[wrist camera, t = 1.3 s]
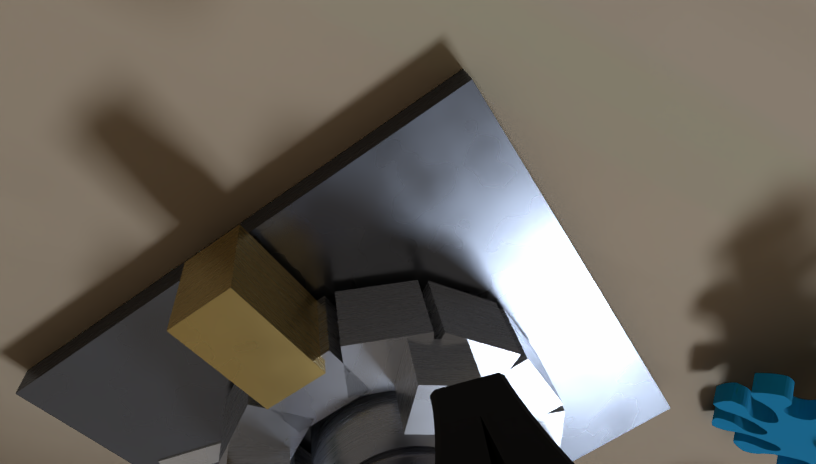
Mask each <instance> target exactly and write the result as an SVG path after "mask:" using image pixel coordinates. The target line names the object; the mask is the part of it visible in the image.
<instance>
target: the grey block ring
mask: <svg viewBox="0 0 816 464" xmlns="http://www.w3.org/2000/svg"><path fill="white" fill-rule="evenodd" d="M335 298H336V306H335V305H334V304H333V303H332V302H331V301H330V300H329V299H328V298H327V297H326V296H323V297H322V298H320V299H319V300H316V299H315V298H314V297H313V296H312V295H311V294H310V293H309V292H308V291H307V290H306V289H305V288H304V287H303V286H302V285H301V284H300V283H299V282H298V281H297V280H296V279H295V278H294V277H293V276H292V275H291V274H290V273H289V272H288V271H287V270H286V269H285V268H284V267H283V266H282V265H280V264H279V263H278V262H277V261H276V260H275V259H274V258H273V257H272V256H271V255H270V254H269V253H268V252H267V251H266V250H265V249H264V248H263V247H262V246H261V245H260V244H259V243H258V242H257V241H256V240H255V239H254V238H253V237H252V236H251V235H250V234H249V233H248V232H247V231H246V230H245V229H244V228H243V227H242V226H241V225H240V224H239V225H238V226H236V227H235V228H234V229H232V230H231V231H229V232H228V233H226V234H225V235H223V236H222V237H221V238H219V239H218V240H216V241H215V242H213V243H212V244H210V245H209V246H208V247H206V248H205V249H203V250H202V251H200V252H199V253H197V254H196V255H195V256H193V257H192V258H190V259H189V260H187V261H186V262H185V264H184V268H183V271H182V275H181V279H180V283H179V286H178V290H177V294H176V298H175V301H174V305H173V309H172V313H171V316H170V320H169V324H168V327H167V332H169V333H170V334H171V335H172V336H174V337H175V338H176V339H178V340H179V341H180V342H181V343H183V344H184V345H185V346H186V347H188V348H189V349H190V350H192V351H193V352H194V353H195V354H197V355H198V356H199V357H201V358H202V359H203V360H204V361H206V362H207V363H208V364H210V365H211V366H212V367H213V368H215V369H216V370H217V371H219V372H220V373H221V374H222V375H224V376H225V377H226V378H227V379H229V380H230V381H231V382H233V383H234V385H233V387H232V389H231V392H230V394H229V396H228V398H227V400H226V405H225V413H224V421H223V429H222V438H221V446H220V454H219V462H218V464H312V455H311V454H310V453H309V452H307V451H306V450H305V449H303V448H302V447H301V446H299V444H300V442H301V441H302V439H303V437H304V435H305V434H306V432H307V430H308V428H309V427H310V426H312V425H313V424H315V423H317V422H318V421H320V420H321V419H323V418H325V417H326V416H328V415H330V414H331V413H333V412H335V411H336V410H338V409H340V408H341V407H343V406H345V405H346V404H348V403H350V402H351V401H353V400H354V399H356V398H358V397H359V396H362V395H368V394H374V393H380V392H386V391H392V390H395V392H396V397H397V402H398V407H399V412H400V417H401V422H402V427H403V432H404V434H423V435H435V431H434V419H433V410H432V404H431V400H430V395H431V393H432V392H433V391H434V390H435V389H439V388H443V387H446V386H450V385H454V384H457V383H461V382H465V381H469V380H472V379H476V378H480V377H484V376H487V375H491V374H495V373H501V374H503V375H505V376H506V378H507V379H508V381H509V383H510V384H511V386H512V387H513V389H514V390H515V391H516V393H517V394H518V396H519V397H520V399H521V400H522V401H523V403H524V404H525V405H526V407H527V408H528V409H529V411H530V412H531V413H532V415H533V416H534V417H535V418H536V420H537V421H538V422H539V423H540V424H541V426H542V427H543V428H544V429H545V431H546V432H547V433H548V434H549V435H550V437H551V438H552V439H553V440H554V441H555V442H556V444H557V445H558V446H559V447H560V446H561V438H562V430H563V422H564V414H565V410H564V408H563V406H562V405H563V403H562V401H561V399H560V397H559V395H558V393H557V391H556V389H555V387H554V385H553V383H552V381H551V379H550V377H549V376H548V374H547V372H546V370H545V368H544V366H543V364H542V362H541V360H540V358H539V356H538V354H537V352H536V350H535V349H534V348H533V346H532V345H531V344H530V342H529V341H528V340H527V339H526V337H525V336H524V335H523V333H522V332H521V331H520V329H519V328H518V327H517V325H516V324H515V323H514V321H513V320H512V319H511V317H510V316H509V315H508V313H507V312H506V311H505V309H504V308H503V307H502V308H501V309H499V308H498V306H497V304H496V302H493V301H490V300H487V299H483V298H480V297H477V296H474V295H471V294H468V293H465V292H462V291H459V290H456V289H452V288H449V287H446V286H443V285H440V284H437V283H434V282H431V281H427V283H426V285H425V286H424V288H423V290H422V291H421V289H420V286H419V282H418V280H413V281H406V282H399V283H392V284H385V285H378V286H371V287H364V288H357V289H350V290H343V291H336V292H335Z"/></svg>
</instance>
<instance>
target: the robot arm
mask: <svg viewBox="0 0 816 464" xmlns="http://www.w3.org/2000/svg"><path fill="white" fill-rule="evenodd" d="M430 400H431V404H432V410H433V419H434V431H435V464H574V463H573V461H572V460H571V459H570V458H569V457H568V456H567V455H566V454H565V453H564V451H563V450H562V449H561V448H560V447H559V446H558V445H557V444H556V442H555V441H554V440H553V439H552V438H551V437H550V435H549V434H548V433H547V432H546V431H545V429H544V428H543V427H542V426H541V424H540V423H539V422H538V421H537V420H536V418H535V417H534V416H533V415H532V413H531V412H530V411H529V409H528V408H527V407H526V405H525V404H524V403H523V401H522V400H521V399H520V397H519V396H518V394H517V393H516V391H515V390H514V389H513V387H512V386H511V384H510V383H509V381H508V379H507V378H506V376H505V375H503V374H501V373H495V374H491V375H487V376H484V377H480V378H476V379H472V380H469V381H465V382H461V383H457V384H454V385H450V386H446V387H443V388H439V389H435V390H434V391H433V392H432V393H431V395H430Z"/></svg>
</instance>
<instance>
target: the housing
mask: <svg viewBox="0 0 816 464" xmlns="http://www.w3.org/2000/svg"><path fill="white" fill-rule="evenodd" d="M311 453H312V464H435V435H423V434H404V432H403V427H402V422H401V417H400V412H399V407H398V402H397V397H396V392H395V390H392V391H386V392H380V393H374V394H368V395H362V396H359V397H358V398H356V399H354V400H353V401H351V402H350V403H348V404H346V405H345V406H343V407H341V408H340V409H338V410H336V411H335V412H333V413H331V414H330V415H328V416H326V417H325V418H323V419H321V420H320V421H318V422H317V423H315V424H313V425H312V426H311Z"/></svg>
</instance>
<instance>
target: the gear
mask: <svg viewBox="0 0 816 464" xmlns="http://www.w3.org/2000/svg"><path fill="white" fill-rule="evenodd" d="M794 384H795V382H794V380H793V379H791V378H790V377H788V376H786V375H780V374H772V373H755V375H754V380H753V386H752V391H750V390H749V389H748V388H747V387H745V386H743V385H741V384H738V383H735V382H732V383H724V384H721V385H718V386H716V391H715V396H714V401H713V405H714V406H715V410H714V415H713V420H712V425H713V426H715V427H717V428H720V429H723V430H727V431H733V432H735V435H734V440H733V441H734V443H735V444H736V445H737V446H738V447H739V448H740V449H742V450H743V451H746V452H750V453H756V454H761V453H765V454H776V455H778V457H777V464H816V400H805V399H800V398H797V397H794V396H793V391H794Z"/></svg>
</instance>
